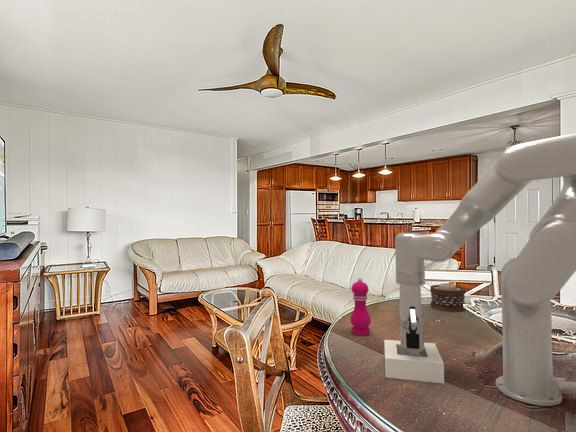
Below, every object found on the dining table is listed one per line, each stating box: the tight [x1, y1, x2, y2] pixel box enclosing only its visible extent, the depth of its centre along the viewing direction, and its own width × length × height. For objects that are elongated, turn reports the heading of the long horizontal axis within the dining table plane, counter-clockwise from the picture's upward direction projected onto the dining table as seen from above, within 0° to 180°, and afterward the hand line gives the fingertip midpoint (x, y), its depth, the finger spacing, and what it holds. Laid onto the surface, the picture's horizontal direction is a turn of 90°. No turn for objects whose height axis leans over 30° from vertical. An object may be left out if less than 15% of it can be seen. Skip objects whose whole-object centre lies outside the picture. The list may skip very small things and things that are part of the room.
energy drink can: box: [400, 310, 425, 357], centre depth 92 cm, size 6×6×15 cm
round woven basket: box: [430, 283, 466, 313], centre depth 154 cm, size 15×11×15 cm
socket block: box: [383, 339, 445, 385], centre depth 92 cm, size 14×14×5 cm
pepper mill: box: [350, 277, 372, 336], centre depth 122 cm, size 7×7×20 cm
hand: (411, 342), depth 92 cm, fingers open, 6 cm apart
